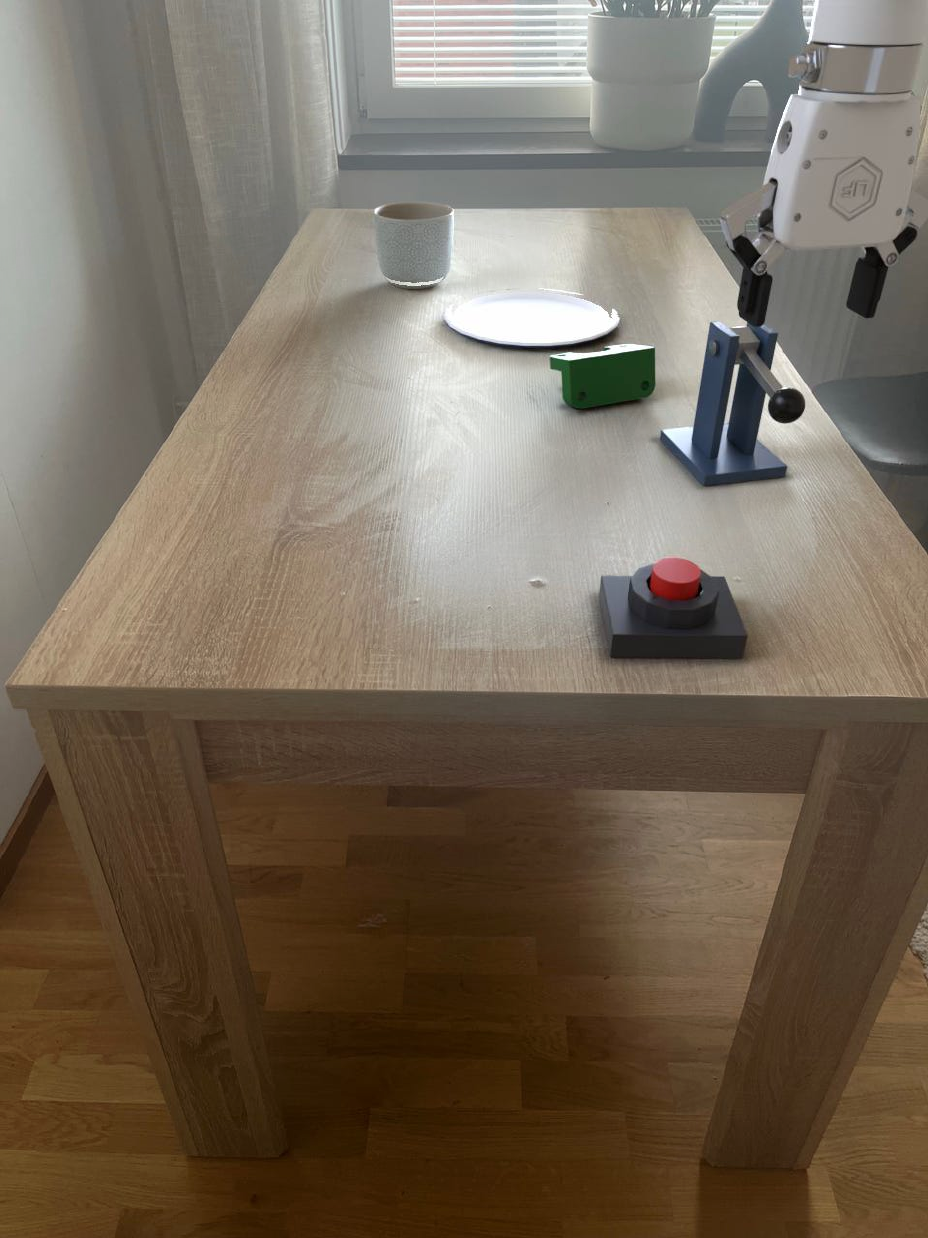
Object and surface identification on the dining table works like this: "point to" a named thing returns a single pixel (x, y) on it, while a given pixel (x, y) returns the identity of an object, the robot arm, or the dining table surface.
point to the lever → (768, 379)
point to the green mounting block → (606, 375)
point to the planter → (414, 241)
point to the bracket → (711, 442)
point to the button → (675, 579)
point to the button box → (670, 619)
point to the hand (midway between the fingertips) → (805, 317)
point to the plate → (531, 319)
